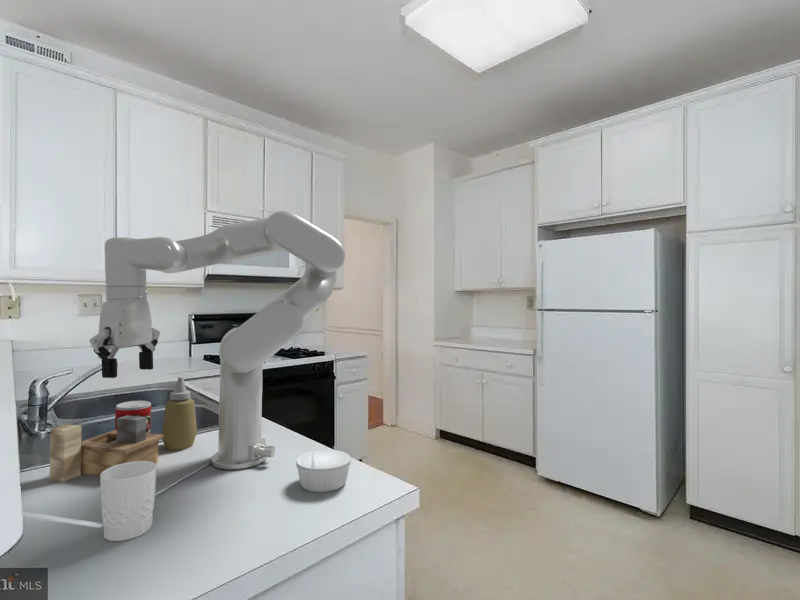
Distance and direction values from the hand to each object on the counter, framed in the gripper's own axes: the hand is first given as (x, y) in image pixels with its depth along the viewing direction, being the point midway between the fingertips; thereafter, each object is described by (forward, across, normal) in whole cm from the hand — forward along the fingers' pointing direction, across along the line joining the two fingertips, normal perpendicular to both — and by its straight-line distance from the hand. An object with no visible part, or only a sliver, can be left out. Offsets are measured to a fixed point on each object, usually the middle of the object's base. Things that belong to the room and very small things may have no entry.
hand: (128, 373), depth 93 cm
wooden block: (+21, +7, -10) cm, 24 cm away
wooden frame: (+16, 0, -3) cm, 16 cm away
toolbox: (+22, 0, -3) cm, 22 cm away
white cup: (+22, +20, +19) cm, 35 cm away
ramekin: (+24, -5, +43) cm, 49 cm away
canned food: (+22, -13, -12) cm, 28 cm away
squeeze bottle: (+22, -15, 0) cm, 27 cm away
